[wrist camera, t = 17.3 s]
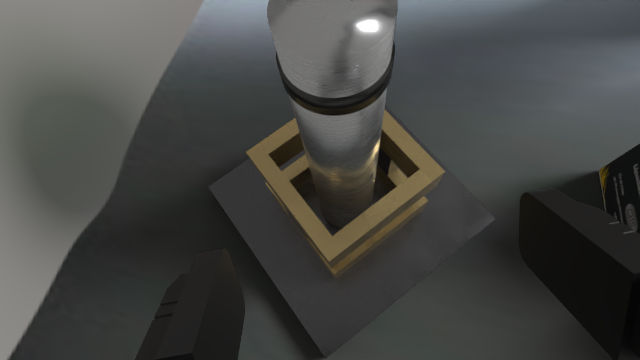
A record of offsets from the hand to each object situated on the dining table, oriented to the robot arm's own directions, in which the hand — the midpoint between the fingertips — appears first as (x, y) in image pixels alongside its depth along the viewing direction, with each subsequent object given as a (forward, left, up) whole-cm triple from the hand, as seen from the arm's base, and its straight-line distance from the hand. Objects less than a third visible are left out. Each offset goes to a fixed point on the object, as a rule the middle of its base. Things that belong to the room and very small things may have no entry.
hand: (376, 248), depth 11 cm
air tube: (-3, -6, -19) cm, 20 cm away
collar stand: (-3, -6, -20) cm, 21 cm away
